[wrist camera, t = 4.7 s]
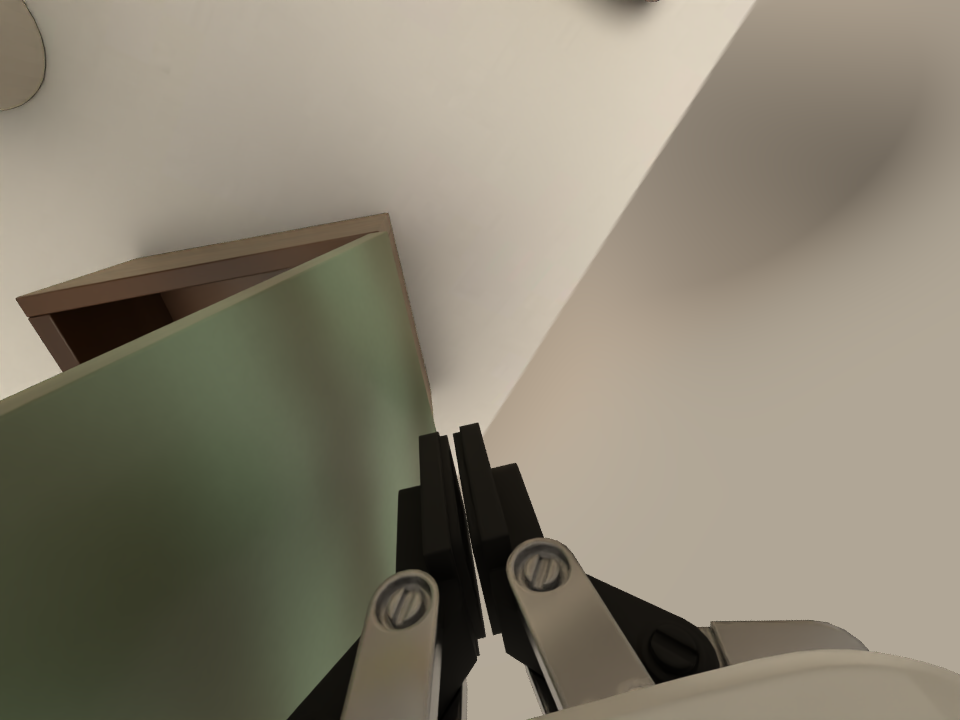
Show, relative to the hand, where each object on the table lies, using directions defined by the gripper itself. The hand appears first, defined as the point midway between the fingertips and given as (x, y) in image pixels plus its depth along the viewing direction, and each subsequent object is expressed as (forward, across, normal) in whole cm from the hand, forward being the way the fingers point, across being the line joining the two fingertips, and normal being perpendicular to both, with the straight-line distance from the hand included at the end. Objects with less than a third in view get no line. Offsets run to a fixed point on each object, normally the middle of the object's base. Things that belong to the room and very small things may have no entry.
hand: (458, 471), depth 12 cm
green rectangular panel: (+1, +4, 0) cm, 4 cm away
